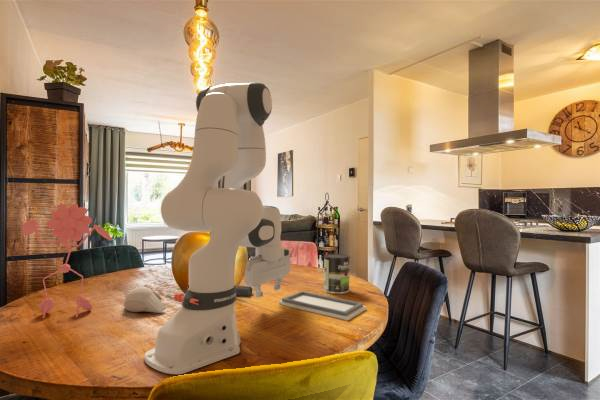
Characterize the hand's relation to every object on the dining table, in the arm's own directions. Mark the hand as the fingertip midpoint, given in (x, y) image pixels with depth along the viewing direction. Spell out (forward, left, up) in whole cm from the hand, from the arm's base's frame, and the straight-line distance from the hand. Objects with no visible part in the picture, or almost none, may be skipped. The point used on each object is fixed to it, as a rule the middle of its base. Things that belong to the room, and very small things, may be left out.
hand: (268, 293), depth 114 cm
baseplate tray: (+10, -15, -5) cm, 19 cm away
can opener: (+4, +24, -2) cm, 24 cm away
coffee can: (+31, -9, -5) cm, 33 cm away
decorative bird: (-26, +24, -7) cm, 36 cm away
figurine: (-42, +47, -5) cm, 63 cm away
